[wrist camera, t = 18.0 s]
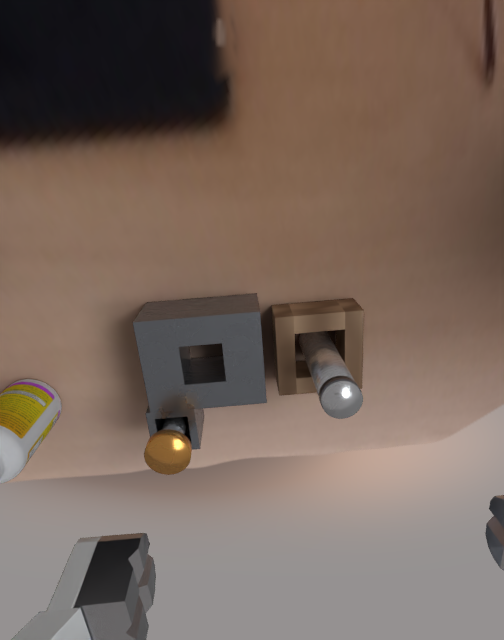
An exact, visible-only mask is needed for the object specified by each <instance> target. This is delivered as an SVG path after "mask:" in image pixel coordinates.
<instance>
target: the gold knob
mask: <svg viewBox="0 0 504 640" xmlns="http://www.w3.org/2000/svg"><path fill="white" fill-rule="evenodd" d="M186 424H187V416H185V417H174V418H165V421H164V424H163V428H162V430H161V431H158V432H156V433H155V434H153V435H152V436H151V437H150V438H149V440H148V443H147V446H146V449H145V453H144V458H145V461H146V463H147V465H148V466H149V467H150V468H151V469H152V470H154V471H156V472H158V473H161V474H168V475H169V474H176V473H178V472H181V471H182V470H184V469H185V468H186V467H187V466H188V464H189V462H190V458H191V452H192V446H191V442H190V440H189V439H188V438H187V437H186V436H185V429H186Z"/></svg>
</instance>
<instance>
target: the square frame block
mask: <svg viewBox="0 0 504 640" xmlns="http://www.w3.org/2000/svg"><path fill="white" fill-rule="evenodd" d="M272 322H273V338H274V354H275V370H276V380H277V386H278V391H279V395H291V394H303V393H314V392H317V390H316V387H315V384H314V382H313V379H312V376H311V374H310V371H309V368H308V365H307V363H306V360H305V361H296V360H295V336H294V334H297V333H309V332H321V331H332V330H336V349H337V351H338V352H339V354H340V356H341V358H342V359H343V361H344V363H345V365H346V366H347V368H348V370H349V372H350V374H351V375H352V377H353V379H354V381H355V382H356V383H357V385H358V386H359V388H360V389H361V388H362V369H363V331H364V310H363V309H362V308H361V306H360V305H359V304H358V303H357V302H356V301H355V300H354V299H353V298H352V299H340V300H328V301H316V302H304V303H292V304H280V305H272Z"/></svg>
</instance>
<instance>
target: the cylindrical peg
mask: <svg viewBox="0 0 504 640" xmlns="http://www.w3.org/2000/svg"><path fill="white" fill-rule="evenodd" d="M299 344H300V346H301V349H302V352H303V355H304V357H305V360H306V363H307V365H308V368H309V371H310V374H311V376H312V379H313V382H314V384H315V387H316V390H317V393H318V395H319V400H320V402H321V405H322V407H323V409H324V411H325V412H326V413H327V414H328V415H329V416H331V417H333V418H338V419H343V418H348V417H350V416H352V415H354V414H355V413H357V411H358V410H359V409H360V408H361V406H362V402H363V396H362V393H361V390H360V388H359V386H358V385H357V383H356V382H355V381H354V379H353V377H352V375H351V374H350V372H349V370H348V368H347V366H346V365H345V363H344V361H343V359H342V358H341V356H340V354H339V352H338V351H337V349H336V347H335V345H334V343H333V342H332V340H331V338H330V336H329V335H328V333H327V331H321V332H309V333H301V334H300V336H299Z"/></svg>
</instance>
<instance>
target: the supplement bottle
mask: <svg viewBox="0 0 504 640" xmlns="http://www.w3.org/2000/svg"><path fill="white" fill-rule="evenodd" d="M61 409H62V405H61V400H60V398H59V396H58V394H57V393H56V391H55V390H54V389H53V388H52V387H50V386H49V385H48V384H46V383H44V382H41V381H38V380H34V379H23V380H19V381H16V382H14V383H12V384H11V385H9V386H8V387H7V388H6V389H5V390H4V391H3V392H2V393H1V394H0V484H1V483H5V482H7V481H9V480H11V479H13V478H14V477H16V476H17V475H18V474H19V473H20V472H21V470H22V469H23V468H24V466H25V465H26V463H27V462H28V461H29V459H30V458H31V456H32V455H33V453H34V452H35V451H36V449H37V448H38V446H39V445H40V444H41V442H42V441H43V440H44V438H45V437H46V435H47V434H48V433H49V431H50V430H51V428H52V427H53V425H54V424H55V423H56V421H57V419H58V418H59V416H60V414H61Z"/></svg>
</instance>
